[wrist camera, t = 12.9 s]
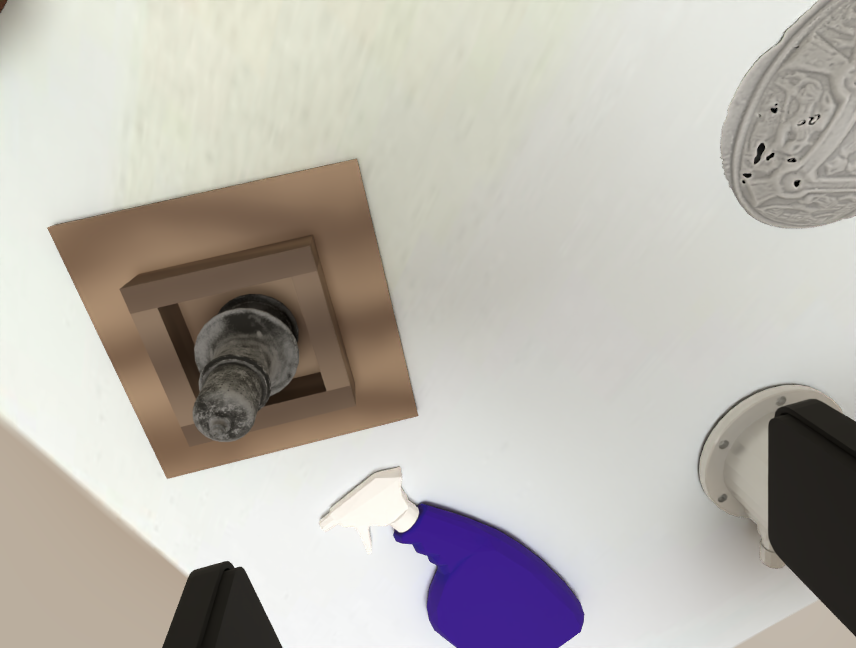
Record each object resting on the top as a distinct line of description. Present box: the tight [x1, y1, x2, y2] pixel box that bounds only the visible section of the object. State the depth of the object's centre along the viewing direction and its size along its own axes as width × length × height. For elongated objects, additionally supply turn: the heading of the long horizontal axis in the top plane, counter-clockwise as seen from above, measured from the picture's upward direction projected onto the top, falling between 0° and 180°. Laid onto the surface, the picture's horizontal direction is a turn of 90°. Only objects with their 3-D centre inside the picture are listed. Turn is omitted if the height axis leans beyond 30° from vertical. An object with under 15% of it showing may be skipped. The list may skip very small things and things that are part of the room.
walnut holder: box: [48, 159, 418, 479], centre depth 34 cm, size 18×18×4 cm
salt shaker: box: [193, 294, 299, 442], centre depth 29 cm, size 6×6×12 cm
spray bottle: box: [319, 467, 584, 648], centre depth 45 cm, size 3×11×24 cm
